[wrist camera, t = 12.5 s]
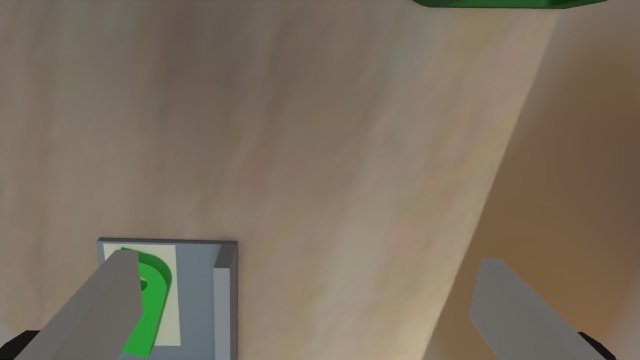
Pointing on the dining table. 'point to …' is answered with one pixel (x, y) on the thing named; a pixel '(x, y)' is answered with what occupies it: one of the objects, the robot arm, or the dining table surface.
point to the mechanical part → (149, 303)
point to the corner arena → (191, 297)
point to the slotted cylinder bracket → (507, 3)
